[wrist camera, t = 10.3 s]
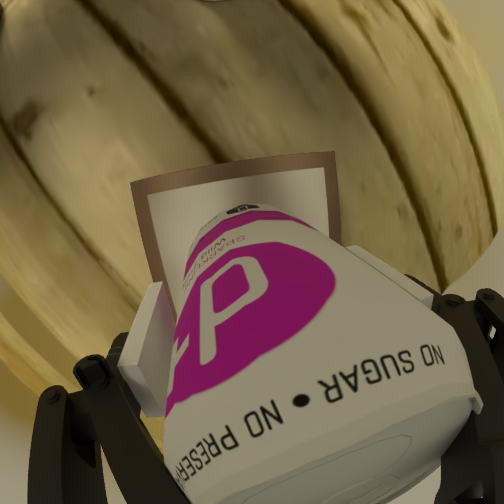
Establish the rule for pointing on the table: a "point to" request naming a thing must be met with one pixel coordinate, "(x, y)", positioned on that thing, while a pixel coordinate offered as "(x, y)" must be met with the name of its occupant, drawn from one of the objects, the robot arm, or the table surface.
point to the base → (229, 204)
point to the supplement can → (304, 371)
